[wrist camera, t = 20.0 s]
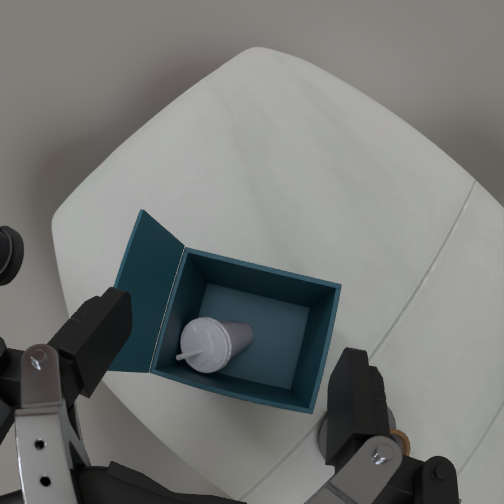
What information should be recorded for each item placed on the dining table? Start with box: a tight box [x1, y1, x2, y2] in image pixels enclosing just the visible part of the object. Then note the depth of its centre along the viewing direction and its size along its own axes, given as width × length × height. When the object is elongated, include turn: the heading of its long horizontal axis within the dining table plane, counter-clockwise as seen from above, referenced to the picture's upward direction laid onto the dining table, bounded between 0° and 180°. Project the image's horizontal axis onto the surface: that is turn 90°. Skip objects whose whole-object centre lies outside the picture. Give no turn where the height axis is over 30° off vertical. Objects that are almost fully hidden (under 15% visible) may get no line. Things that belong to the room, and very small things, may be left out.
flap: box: [107, 210, 185, 373], centre depth 26 cm, size 8×13×1 cm
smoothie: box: [176, 317, 254, 373], centre depth 37 cm, size 6×6×14 cm
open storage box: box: [150, 247, 341, 414], centre depth 37 cm, size 16×13×16 cm
